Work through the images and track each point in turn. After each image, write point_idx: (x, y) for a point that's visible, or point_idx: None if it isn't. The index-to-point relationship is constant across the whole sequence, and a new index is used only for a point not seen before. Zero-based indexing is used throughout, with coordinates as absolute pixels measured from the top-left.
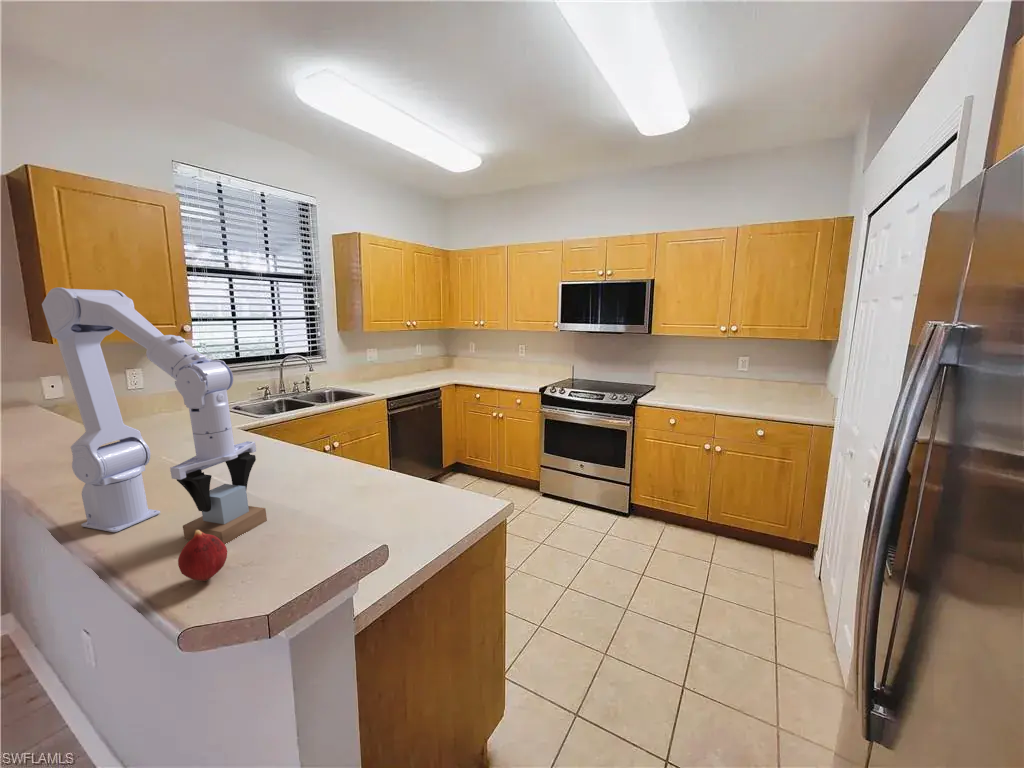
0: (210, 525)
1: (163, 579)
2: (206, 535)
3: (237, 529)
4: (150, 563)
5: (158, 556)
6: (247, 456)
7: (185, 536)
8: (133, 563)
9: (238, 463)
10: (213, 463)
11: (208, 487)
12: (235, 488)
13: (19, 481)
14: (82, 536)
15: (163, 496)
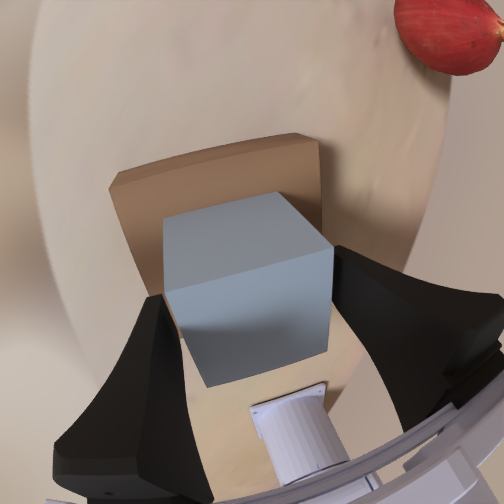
0: None
1: (423, 125)
2: (489, 11)
3: (247, 147)
4: (393, 219)
5: (372, 235)
6: (109, 493)
7: None
8: (396, 249)
9: (174, 462)
10: (480, 421)
11: (412, 297)
12: (214, 308)
13: None
14: (337, 394)
15: (209, 446)
